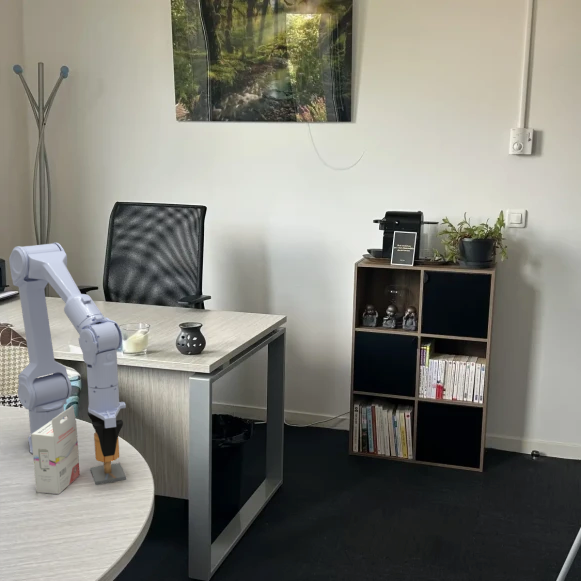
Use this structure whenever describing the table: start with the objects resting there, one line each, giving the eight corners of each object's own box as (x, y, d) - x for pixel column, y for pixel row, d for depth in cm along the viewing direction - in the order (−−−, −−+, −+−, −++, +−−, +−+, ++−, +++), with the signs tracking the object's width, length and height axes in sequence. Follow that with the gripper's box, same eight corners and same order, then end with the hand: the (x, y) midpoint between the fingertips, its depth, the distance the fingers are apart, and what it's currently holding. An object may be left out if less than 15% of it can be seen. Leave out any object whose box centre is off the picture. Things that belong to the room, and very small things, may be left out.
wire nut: (93, 454, 145) (92, 430, 145) (117, 451, 147) (116, 427, 146) (97, 463, 141) (95, 439, 140) (121, 459, 143) (119, 435, 142)
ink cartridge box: (57, 473, 146) (52, 402, 143) (80, 475, 145) (76, 404, 142) (34, 492, 137) (28, 418, 135) (58, 495, 136) (53, 420, 134)
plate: (90, 470, 147) (89, 455, 146) (119, 465, 149) (119, 451, 149) (95, 484, 141) (94, 469, 140) (126, 479, 143) (125, 464, 142)
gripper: (130, 392, 136) (134, 461, 139) (117, 371, 150) (120, 434, 152) (92, 397, 134) (96, 467, 136) (82, 375, 147) (85, 439, 149)
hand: (106, 450), depth 144 cm, fingers closed on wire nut, 4 cm apart
